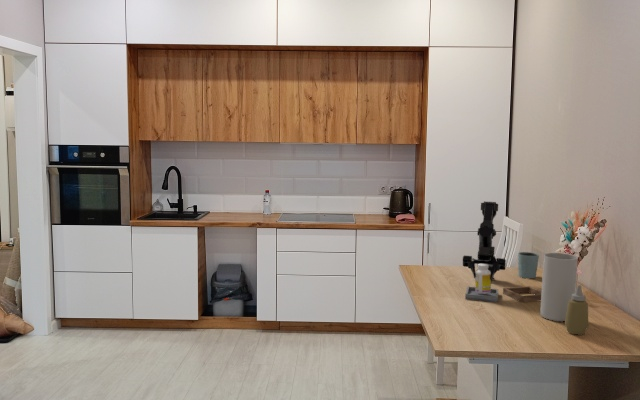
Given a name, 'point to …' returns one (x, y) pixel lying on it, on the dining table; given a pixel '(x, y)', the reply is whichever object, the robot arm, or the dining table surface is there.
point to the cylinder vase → (557, 285)
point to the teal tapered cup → (527, 264)
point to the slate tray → (481, 295)
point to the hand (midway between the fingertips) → (482, 278)
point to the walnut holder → (513, 291)
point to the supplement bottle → (482, 279)
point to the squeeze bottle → (577, 313)
